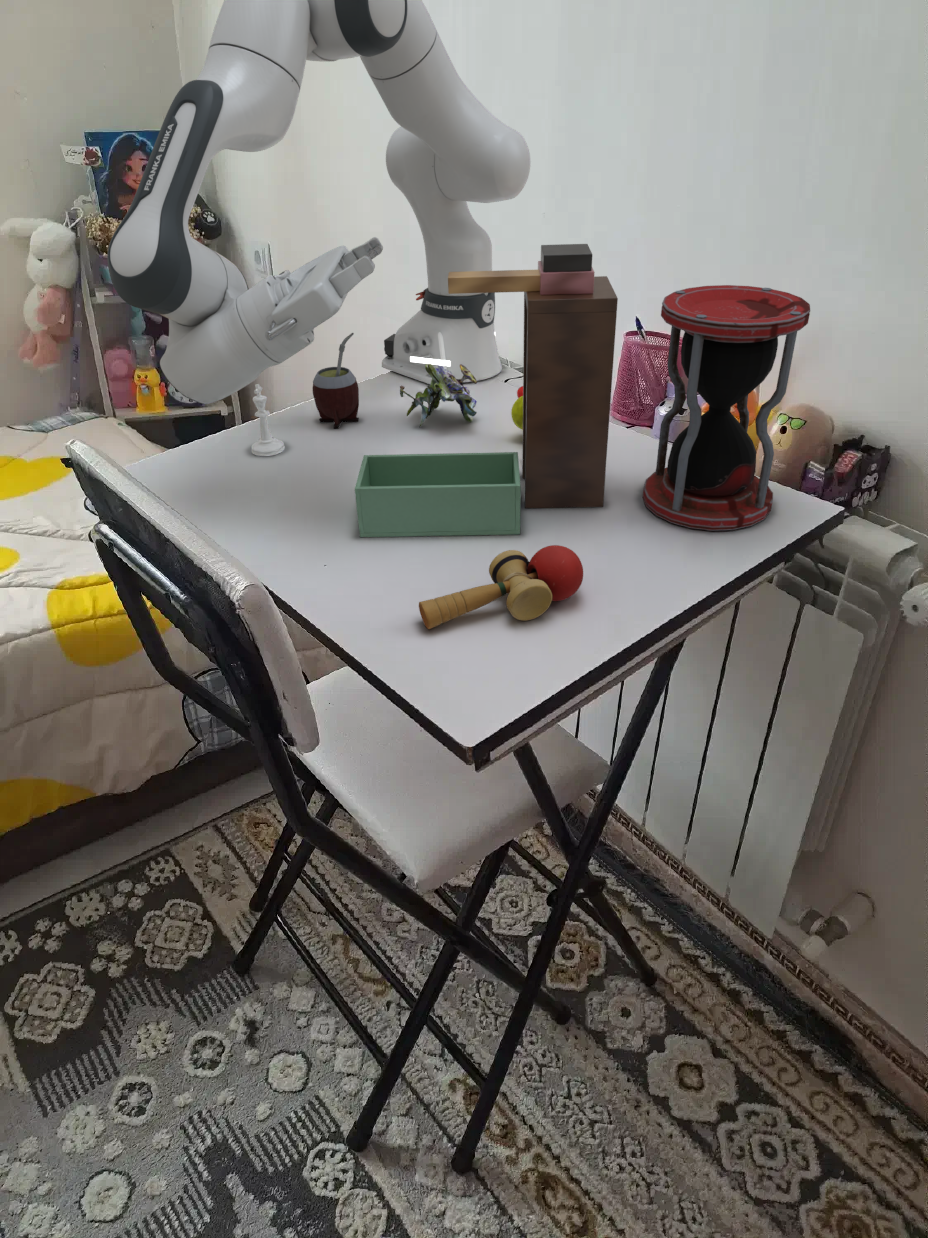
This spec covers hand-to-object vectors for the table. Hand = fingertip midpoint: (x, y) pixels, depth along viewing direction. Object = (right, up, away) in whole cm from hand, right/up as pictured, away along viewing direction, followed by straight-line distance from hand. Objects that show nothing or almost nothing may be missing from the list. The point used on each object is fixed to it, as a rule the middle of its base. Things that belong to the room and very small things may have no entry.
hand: (375, 252), depth 98 cm
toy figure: (+20, -15, +31) cm, 40 cm away
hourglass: (+41, -27, +13) cm, 51 cm away
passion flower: (+7, -11, +37) cm, 39 cm away
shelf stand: (+23, -25, +17) cm, 38 cm away
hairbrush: (+16, -3, +2) cm, 17 cm away
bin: (+7, -29, +11) cm, 32 cm away
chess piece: (-19, -17, +31) cm, 40 cm away
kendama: (+14, -41, -6) cm, 44 cm away
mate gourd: (-9, -11, +39) cm, 41 cm away
